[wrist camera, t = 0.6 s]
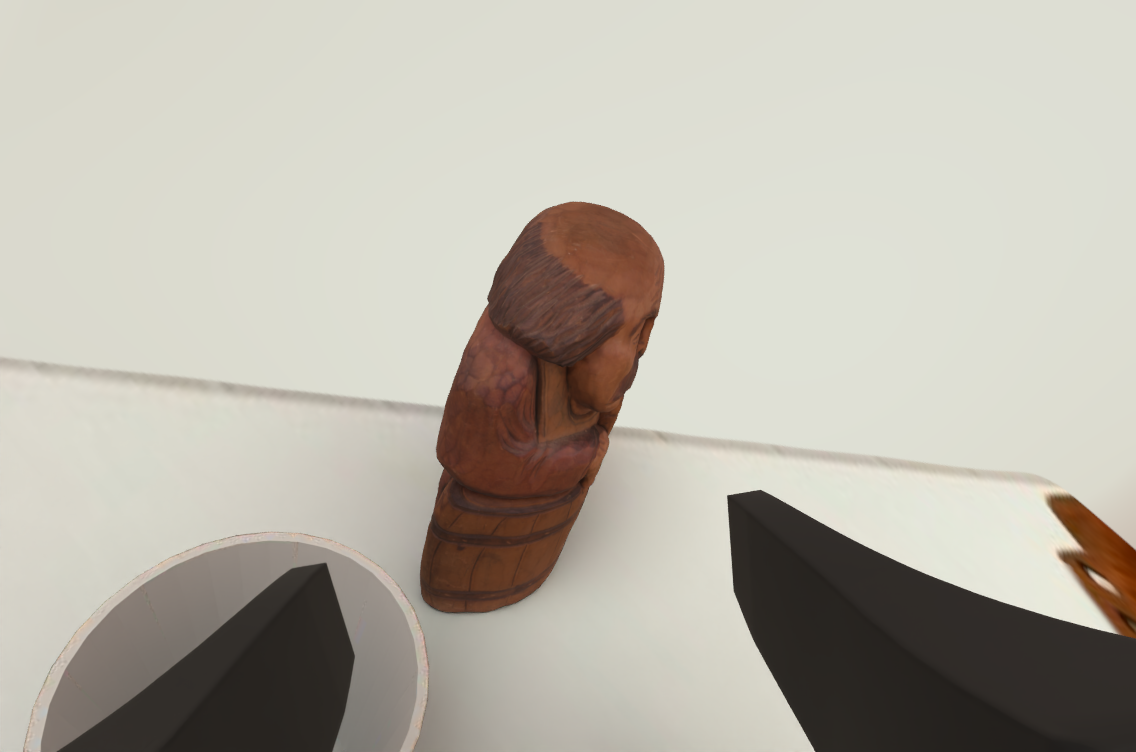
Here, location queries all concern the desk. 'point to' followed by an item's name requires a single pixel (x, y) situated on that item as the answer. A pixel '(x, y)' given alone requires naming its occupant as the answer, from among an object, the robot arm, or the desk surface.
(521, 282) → the wooden figurine
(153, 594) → the coffee mug
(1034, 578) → the desk surface
